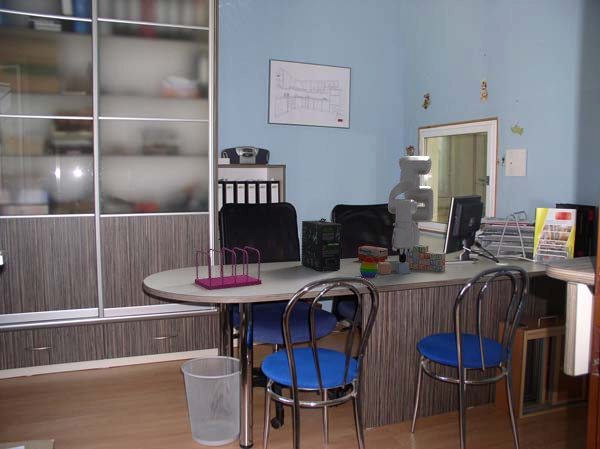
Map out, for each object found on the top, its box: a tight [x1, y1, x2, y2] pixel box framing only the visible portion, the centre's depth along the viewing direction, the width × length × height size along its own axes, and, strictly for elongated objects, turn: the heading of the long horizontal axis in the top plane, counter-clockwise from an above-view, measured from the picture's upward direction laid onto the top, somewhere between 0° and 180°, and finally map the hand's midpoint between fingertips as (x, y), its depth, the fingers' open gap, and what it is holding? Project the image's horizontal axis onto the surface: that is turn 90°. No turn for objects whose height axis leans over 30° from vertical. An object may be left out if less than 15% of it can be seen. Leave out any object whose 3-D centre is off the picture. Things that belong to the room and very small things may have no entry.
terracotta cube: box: [377, 262, 392, 275], centre depth 266 cm, size 5×5×5 cm
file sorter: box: [194, 246, 263, 290], centre depth 240 cm, size 17×25×16 cm
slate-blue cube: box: [395, 261, 410, 275], centre depth 267 cm, size 5×5×5 cm
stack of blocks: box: [402, 244, 446, 273], centre depth 280 cm, size 21×6×12 cm, turn 58°
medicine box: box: [358, 245, 389, 264], centre depth 305 cm, size 15×8×8 cm, turn 44°
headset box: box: [300, 217, 342, 273], centre depth 282 cm, size 22×12×26 cm, turn 26°
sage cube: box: [385, 258, 399, 271], centre depth 275 cm, size 5×5×5 cm
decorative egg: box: [359, 257, 378, 279], centre depth 256 cm, size 8×8×10 cm
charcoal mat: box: [376, 268, 411, 276], centre depth 271 cm, size 16×17×1 cm
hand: (402, 262), depth 267 cm, fingers closed
